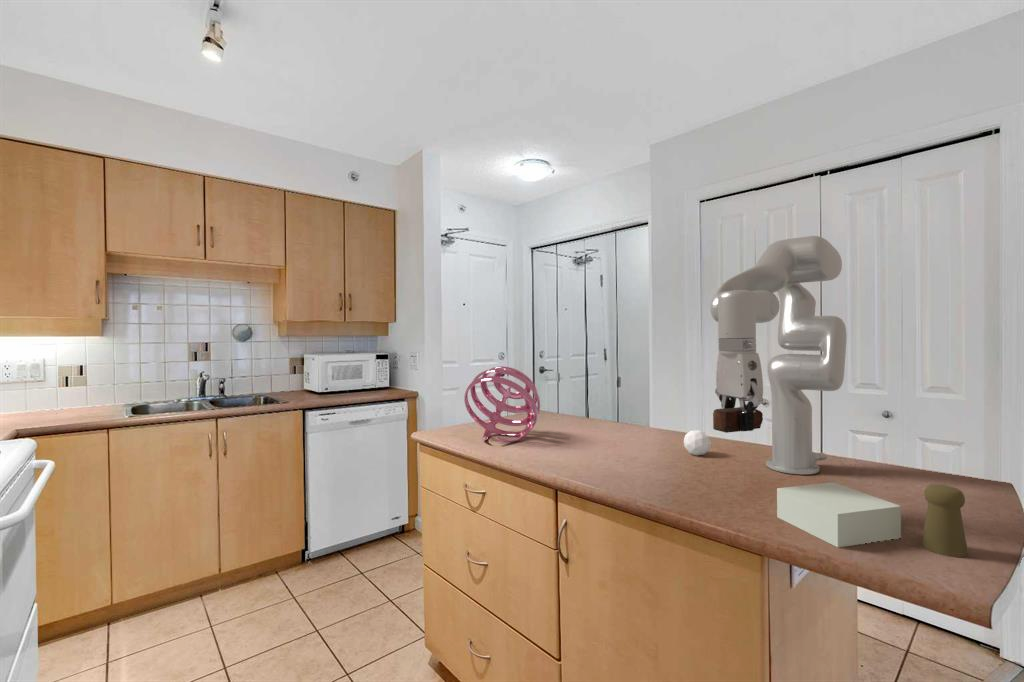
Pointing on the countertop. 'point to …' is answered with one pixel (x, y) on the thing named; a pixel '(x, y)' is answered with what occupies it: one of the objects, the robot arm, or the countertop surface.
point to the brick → (732, 419)
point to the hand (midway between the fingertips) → (738, 427)
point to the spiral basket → (504, 402)
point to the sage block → (839, 514)
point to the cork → (944, 521)
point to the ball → (697, 442)
